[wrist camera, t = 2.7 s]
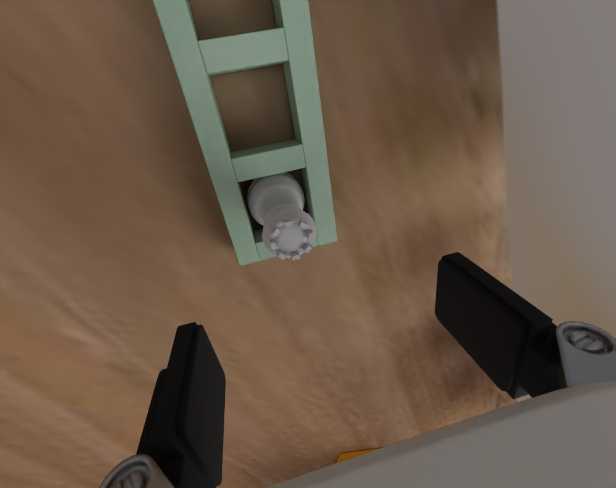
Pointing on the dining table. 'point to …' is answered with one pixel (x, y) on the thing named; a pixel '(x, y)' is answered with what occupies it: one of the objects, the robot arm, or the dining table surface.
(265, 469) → the dining table surface
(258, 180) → the rook chess piece
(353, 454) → the orange juice
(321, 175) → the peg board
